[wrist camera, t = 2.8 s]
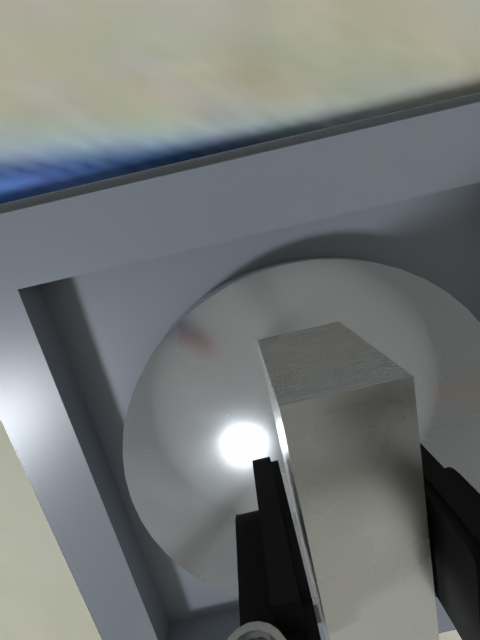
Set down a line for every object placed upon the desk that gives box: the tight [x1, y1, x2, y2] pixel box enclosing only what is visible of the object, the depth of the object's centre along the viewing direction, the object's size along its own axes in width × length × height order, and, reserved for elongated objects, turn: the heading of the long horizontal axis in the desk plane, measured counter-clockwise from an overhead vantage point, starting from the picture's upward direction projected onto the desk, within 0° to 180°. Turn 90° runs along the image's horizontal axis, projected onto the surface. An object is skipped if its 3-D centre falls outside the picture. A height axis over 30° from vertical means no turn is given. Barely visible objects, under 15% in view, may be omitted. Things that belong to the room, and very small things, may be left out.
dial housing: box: [0, 92, 480, 640], centre depth 12 cm, size 20×20×3 cm
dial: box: [123, 256, 480, 640], centre depth 10 cm, size 13×13×5 cm
